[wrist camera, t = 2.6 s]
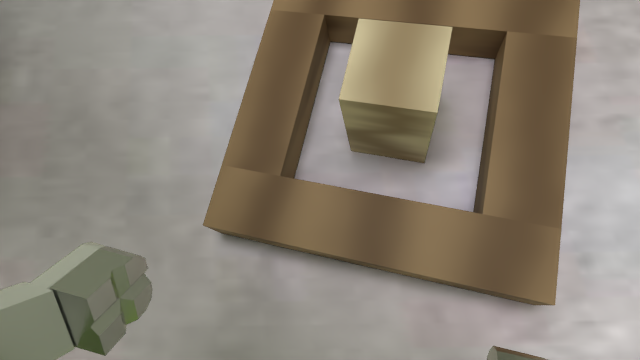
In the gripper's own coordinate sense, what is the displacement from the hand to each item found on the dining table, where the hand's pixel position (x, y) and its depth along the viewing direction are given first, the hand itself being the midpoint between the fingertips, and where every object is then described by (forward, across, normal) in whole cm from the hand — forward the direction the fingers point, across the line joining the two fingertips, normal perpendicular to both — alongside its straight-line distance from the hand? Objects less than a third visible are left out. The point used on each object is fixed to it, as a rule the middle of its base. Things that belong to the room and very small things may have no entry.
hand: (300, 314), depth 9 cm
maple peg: (+21, 0, +3) cm, 21 cm away
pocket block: (+20, 0, +3) cm, 21 cm away
